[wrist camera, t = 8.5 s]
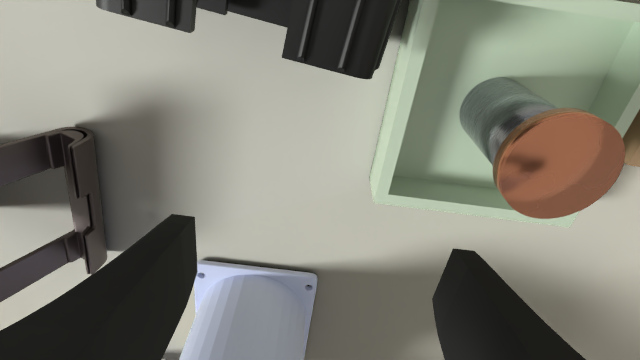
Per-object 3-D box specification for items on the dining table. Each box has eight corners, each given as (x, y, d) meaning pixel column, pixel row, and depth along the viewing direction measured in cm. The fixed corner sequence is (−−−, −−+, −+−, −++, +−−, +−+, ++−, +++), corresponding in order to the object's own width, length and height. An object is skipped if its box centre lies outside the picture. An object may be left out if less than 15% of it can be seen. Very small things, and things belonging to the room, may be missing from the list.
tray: (545, 200, 21) (569, 227, 19) (369, 177, 21) (373, 202, 19) (648, 5, 16) (696, 12, 14) (416, -30, 16) (430, -28, 14)
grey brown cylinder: (514, 153, 19) (585, 226, 14) (439, 140, 19) (483, 210, 14) (551, 76, 17) (650, 127, 12) (468, 61, 17) (532, 106, 12)
